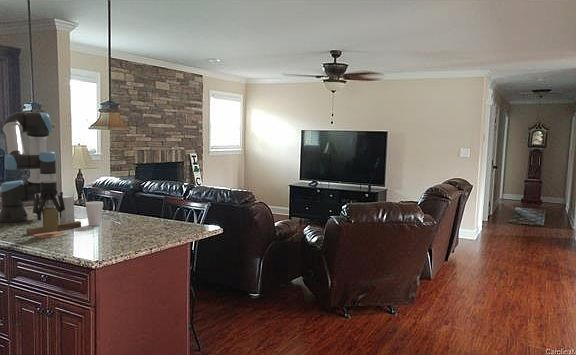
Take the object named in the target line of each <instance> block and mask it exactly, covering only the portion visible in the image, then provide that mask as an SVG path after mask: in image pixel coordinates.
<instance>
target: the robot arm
mask: <svg viewBox="0 0 576 355" xmlns="http://www.w3.org/2000/svg"><path fill="white" fill-rule="evenodd" d="M52 129H53V127H52V121H51V117H50V115H49V113H47V112H37V111H34V112H32V111H31V112H29V111H28V112H27V111H26V112H25V111H18V112H13V113H11V114H10V115H8V116H7V117H6V118H5V119H4V121H3V124H2V132H3V133H4V134H5V137H6V138H5V141H6V146H7V147H6V148H7V154H6V155H5V156H4V167H5V169H6V170H10V171H11V170H14V171H15V170H29V172H30V174H29V176H30V177H28V179H27V182H25V181H24V180H22V179H20V180H13V181H12V180H11V181H6V182H3V183H1V185H0V198H1V199H0V200H1V201H0V202H1V203H0V204H1V207H0V208H1V209H0V223H6V224H8V223H9V224H10V223H11V224H12V223H21V222H25V221H28V220H29V216H28V213H27V210H26V209H25V203H33V208H32V209H33V210H32V214H36V218H37V221H38V227H43V214H42V210H43V209H44V205H45V204H46V203H47V200H51V202H52V204H54V208H56V209H57V211H58V212H57V218H58V225H59V224H61V223H60V218H61V212H62V211H63V210H65V206H64V202H63V197H62V196H64V195H63V194H64V192H63V191H58V190H57V189H58V188H57V185H58V184H57V157H56V152H55V151H47V138H48V137H49V136H50V134H51V133H53V130H52ZM22 133H26V136H27V137H28V138H29V154H25V148H24V141H23V135H22ZM56 197H58V199H59V204H60V206H59V204H58V202H57V199H56Z"/></svg>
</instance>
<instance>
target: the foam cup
mask: <svg viewBox="0 0 576 355" xmlns="http://www.w3.org/2000/svg"><path fill="white" fill-rule="evenodd" d="M85 208H86V209H85V210H86V216H87V222H88V226H90V227H99V226H101V225H102V215H103V208H104V202H103V201H87V202H86V201H85Z"/></svg>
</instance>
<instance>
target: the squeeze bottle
mask: <svg viewBox="0 0 576 355" xmlns="http://www.w3.org/2000/svg"><path fill="white" fill-rule="evenodd" d="M41 214H43V227H42V229H43V231H44V232H46V233H47V232H55V231H56V230H57V227H58V218H57V211H56V207H55V205H54V203H53V201H52V200H47V201H46V203H45V205H44V208H43V210H42V213H41Z"/></svg>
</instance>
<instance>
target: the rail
mask: <svg viewBox="0 0 576 355" xmlns="http://www.w3.org/2000/svg"><path fill="white" fill-rule="evenodd" d="M81 227H82V222H81V221H80V220H75V222H68V223H60V224H59V225H58V227H57V230H56V231H55V232H44V231H43V229H42V227H40V226H36V227H29V228H26V235H27V234H28V236H33V237H37V238H38V239H39V238H40V239H42V238H43V240H47V239H51V238H58V237H62V236H67V235H68V234H67V233H64V232H60V231H64V230H71V229H77V228H81ZM46 238H47V239H46Z"/></svg>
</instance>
